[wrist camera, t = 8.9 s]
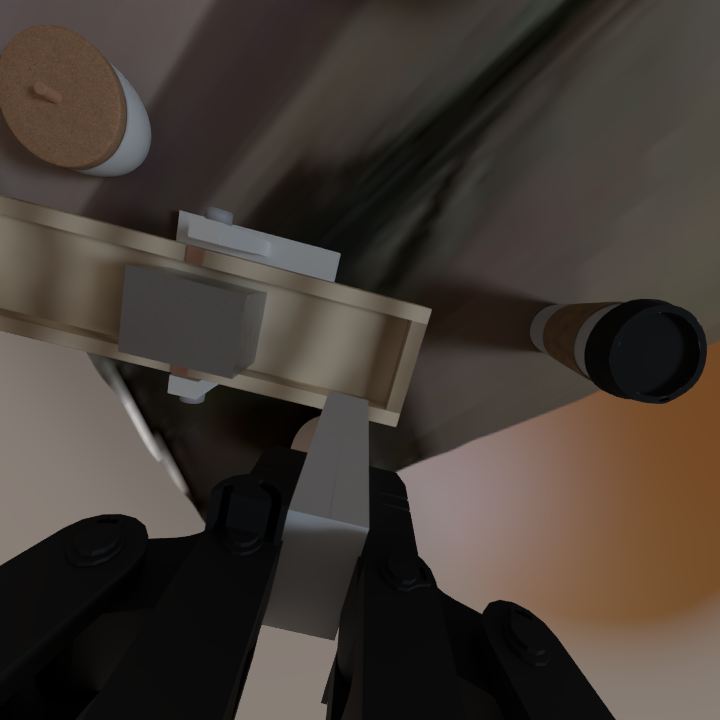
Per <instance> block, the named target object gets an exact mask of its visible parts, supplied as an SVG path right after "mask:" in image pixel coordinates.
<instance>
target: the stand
mask: <svg viewBox="0 0 720 720" xmlns="http://www.w3.org/2000/svg"><path fill="white" fill-rule="evenodd" d="M232 220H233V214H232V213H230V212H227V211H224V210H221V209H218V208H214V207H210V206H206V213H205V217H202V216H199V215H195V214H191V213H187V212H184V211H180V212H179V220H178V229H177V237H176V241H179V242H183V243H186V244H190V245H194V246H198V247H202V248H205V249H209V250H213V251H217V252H221V253H224V254H228V255H232V256H236V257H240V258H243V259H247V260H251V261H255V262H259V263H262V264H266V265H270V266H274V267H278V268H281V269H285V270H289V271H293V272H297V273H300V274H304V275H308V276H312V277H316V278H319V279H323V280H327V281H331V282H334V280H335V276H336V272H337V268H338V263H339V259H340V255H341V254H340V253H337V252H333V251H330V250H326V249H322V248H318V247H315V246H311V245H307V244H303V243H300V242H296V241H292V240H289V239H285V238H281V237H277V236H274V235H270V234H266V233H262V232H259V231H255V230H251V229H247V228H244V227H240V226H236V225H232ZM216 385H218V384H217V383H213V382H209V381H205V380H201V379H197V378H193V377H188V376H187V377H184V376H180V375H176V374H171V375H170V378H169V386H168V393H171V394H175V395H179V396H180V400H181V401H183V402H185V403H190V404H197V403H201V402H203V401H204V398H205V393H206V392H208V391H209V390H210V389H212V388H213V387H215V386H216Z"/></svg>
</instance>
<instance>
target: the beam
mask: <svg viewBox="0 0 720 720" xmlns="http://www.w3.org/2000/svg"><path fill="white" fill-rule="evenodd" d="M125 264H127V265H142V266H156V267H169V268H173V269H177V270H181V271H185V272H189V273H193V274H197V275H201V276H204V277H208V278H212V279H216V280H220V281H224V282H228V283H232V284H236V285H240V286H243V287H247V288H251V289H255V290H259V291H263V292H267V297H266V303H265V308H264V314H263V319H262V324H261V330H260V335H259V340H258V346H257V351H256V357H255V362H254V363H253V364H252V365H250V366H249V367H248V368H246V369H245V370H244V371H242V372H241V373H240V374H238V375H237V376H236V377H234V378H233V379H229V378H225V377H221V376H217V375H212V374H208V373H204V372H200V371H196V370H192V369H188V368H183V367H179V366H175V365H171V364H167V363H163V362H159V361H155V360H150V359H146V358H142V357H138V356H134V355H130V354H126V353H122V352H118V344H119V333H120V321H121V310H122V298H123V287H124V275H125ZM431 311H432V309H430V308H427V307H425V306H422V305H418V304H414V303H411V302H407V301H403V300H399V299H395V298H392V297H388V296H384V295H380V294H376V293H373V292H369V291H365V290H361V289H357V288H354V287H350V286H346V285H342V284H338V283H335V282H331V281H327V280H323V279H319V278H316V277H312V276H308V275H304V274H300V273H297V272H293V271H289V270H285V269H281V268H278V267H274V266H270V265H266V264H262V263H259V262H255V261H251V260H247V259H243V258H240V257H236V256H232V255H228V254H224V253H221V252H217V251H213V250H209V249H205V248H202V247H198V246H194V245H190V244H186V243H183V242H179V241H175V240H171V239H167V238H164V237H160V236H156V235H152V234H148V233H145V232H141V231H137V230H133V229H129V228H126V227H122V226H118V225H114V224H110V223H107V222H103V221H99V220H95V219H91V218H88V217H84V216H80V215H76V214H72V213H69V212H65V211H61V210H57V209H53V208H50V207H46V206H42V205H38V204H34V203H31V202H27V201H23V200H19V199H15V198H12V197H8V196H4V195H0V331H4V332H8V333H12V334H16V335H20V336H24V337H28V338H32V339H36V340H40V341H45V342H49V343H53V344H57V345H61V346H66V347H69V348H73V349H77V350H82V351H86V352H90V353H94V354H98V355H102V356H106V357H110V358H114V359H119V360H123V361H127V362H131V363H135V364H139V365H143V366H147V367H151V368H156V369H160V370H164V371H168V372H171V373H172V374H176V375H180V376H184V377H187V376H188V377H193V378H197V379H201V380H205V381H209V382H213V383H217V384H221V385H225V386H230V387H234V388H238V389H242V390H246V391H250V392H254V393H258V394H262V395H267V396H271V397H275V398H279V399H283V400H287V401H291V402H295V403H299V404H304V405H308V406H312V407H316V408H320V409H323V407H324V404H325V402H326V399H327V396H328V393H329V391H333V392H337V393H341V394H345V395H349V396H353V397H357V398H361V399H365V400H368V420H369V421H373V422H378V423H382V424H386V425H390V426H394V427H396V425H397V422H398V419H399V416H400V412H401V409H402V406H403V403H404V399H405V396H406V393H407V389H408V386H409V383H410V380H411V376H412V373H413V370H414V366H415V363H416V360H417V357H418V353H419V350H420V347H421V344H422V340H423V337H424V334H425V330H426V327H427V324H428V321H429V317H430V314H431Z"/></svg>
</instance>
